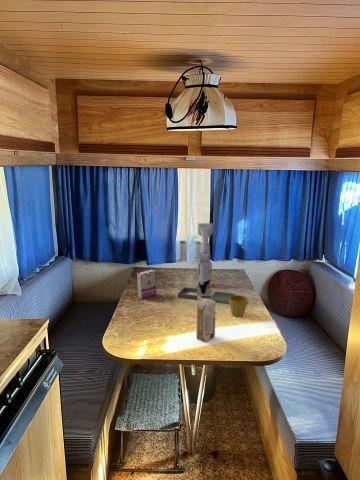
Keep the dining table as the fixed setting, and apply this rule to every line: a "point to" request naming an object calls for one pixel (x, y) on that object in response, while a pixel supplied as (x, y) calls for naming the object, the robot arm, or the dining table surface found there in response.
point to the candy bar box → (146, 284)
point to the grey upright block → (207, 293)
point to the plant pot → (238, 305)
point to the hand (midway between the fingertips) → (204, 292)
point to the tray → (221, 297)
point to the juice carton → (205, 320)
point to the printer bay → (181, 295)
